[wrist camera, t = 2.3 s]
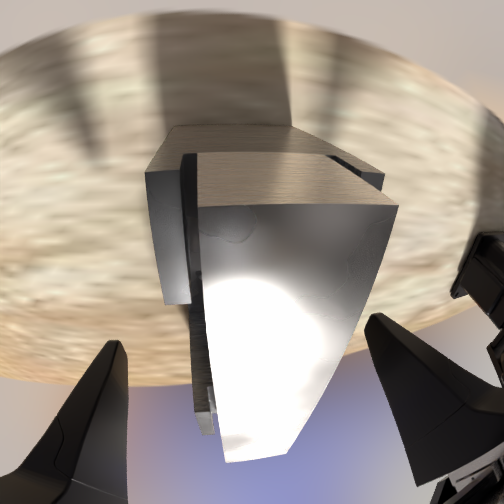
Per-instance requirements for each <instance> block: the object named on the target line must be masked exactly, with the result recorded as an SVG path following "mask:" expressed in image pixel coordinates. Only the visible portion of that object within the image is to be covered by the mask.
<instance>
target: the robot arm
mask: <svg viewBox="0 0 504 504" xmlns="http://www.w3.org/2000/svg"><path fill="white" fill-rule="evenodd" d="M468 294H469V296H470V297H471V298H472V299H473V300H474V301H475V302H476V304H477V305H478V306H479V307H480V308H481V309H482V311H483V312H484V313H485V314H486V315H487V316H488V317H489V318H490V319H491V321H492V322H493V323H494V324H495V326H496V327H497V328H498V329H499V330H500V332H499V334H498V335H497V336H496V338H495V339H494V340H493V342H491V343H490V344H489V345H488V346H487V351H488V353H489V355H490V358H491V361H492V363H493V365H494V367H495V370H496V372H497V375H498V378H499V380H500V383H501V385H502V388H499V387H495V386H493V385H491V384H489V383H487V382H485V381H483V380H482V379H480V378H478V377H477V376H475V375H473V374H472V373H470V372H468V371H467V370H465V369H463V368H462V367H460V366H458V365H457V364H456V363H454V362H453V361H452V360H450V359H448V358H447V357H446V356H444V355H443V354H441V353H440V352H438V351H437V350H436V349H434V348H433V347H431V346H430V345H428V344H427V343H425V342H424V341H422V340H421V339H420V338H418V337H417V336H415V335H414V334H412V333H411V332H409V331H408V330H406V329H405V328H404V327H402V326H401V325H399V324H398V323H396V322H395V321H393V320H392V319H390V318H389V317H387V316H386V315H384V314H383V313H374V314H371V315H370V317H369V319H368V322H367V324H366V326H365V329H364V334H365V337H366V340H367V344H368V347H369V350H370V353H371V357H372V360H373V363H374V367H375V369H376V372H377V374H378V377H379V379H380V382H381V384H382V387H383V389H384V392H385V395H386V397H387V400H388V402H389V405H390V408H391V410H392V413H393V416H394V419H395V421H396V424H397V427H398V430H399V432H400V436H401V438H402V442H403V444H404V448H405V451H406V454H407V457H408V460H409V463H410V466H411V470H412V473H413V476H414V480H415V483H416V486H417V487H419V486H421V485H424V484H426V483H429V482H431V481H434V480H436V479H438V478H440V477H443V476H445V475H447V474H448V476H446V477H445V478H444V479H442V480H441V481H439V482H438V483H437V486H436V489H435V492H434V494H433V497H432V499H431V502H430V504H504V232H485V233H480V234H479V235H478V236H477V238H476V241H475V243H474V246H473V248H472V250H471V253H470V255H469V257H468V259H467V262H466V264H465V266H464V268H463V270H462V272H461V274H460V276H459V278H458V280H457V282H456V284H455V286H454V288H453V290H452V292H451V297H452V298H453V299H456V298H459V297H462V296H465V295H468ZM128 399H129V398H128V359H127V354H126V352H125V350H124V348H123V346H122V343H121V342H120V341H119V340H109V341H107V343H106V344H105V345H104V347H103V348H102V349H101V351H100V352H99V353H98V355H97V356H96V358H95V359H94V360H93V362H92V363H91V365H90V366H89V367H88V369H87V370H86V372H85V373H84V375H83V376H82V377H81V379H80V380H79V382H78V383H77V385H76V386H75V388H74V389H73V391H72V392H71V394H70V395H69V397H68V398H67V400H66V401H65V403H64V404H63V406H62V407H61V409H60V410H59V412H58V413H57V416H56V417H55V418H54V420H53V421H52V423H51V424H50V426H49V427H48V429H47V430H46V432H45V433H44V435H43V436H42V438H41V439H40V440H39V442H38V443H37V444H36V446H35V447H34V448H33V449H32V451H31V452H30V453H29V455H28V456H27V457H26V459H25V460H24V461H23V462H22V464H21V465H20V466H19V467H18V468H17V469H16V470H15V471H13V472H11V473H9V474H7V475H4V476H2V477H0V504H128V496H127V473H126V472H127V468H126V467H127V464H126V451H127V450H126V449H127V448H126V447H127V418H128Z"/></svg>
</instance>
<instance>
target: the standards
mask: <svg viewBox="0 0 504 504" xmlns="http://www.w3.org/2000/svg"><path fill="white" fill-rule="evenodd" d="M204 152H287V153H307V154H322V155H325V156H327V157H329V158H330V159H332V160H333V161H335V162H337V163H338V164H340V165H341V166H343V167H345V168H346V169H348V170H349V171H351V172H352V173H354V174H355V175H357V176H358V177H360V178H361V179H363V180H364V181H366V182H367V183H369V184H370V185H372V186H373V187H374V188H376V189H377V190H379V191H380V192H381V190H382V185H383V181H384V176H385V173H383V172H381V171H380V170H378V169H376V168H374V167H373V166H371V165H369V164H367V163H366V162H364V161H362V160H360V159H358V158H357V157H355V156H353V155H351V154H349V153H347V152H345V151H343V150H341V149H339V148H337V147H335V146H334V145H332V144H329V143H327V142H325V141H323V140H321V139H319V138H317V137H315V136H313V135H311V134H309V133H306V132H304V131H302V130H300V129H297V128H295V127H293V126H280V125H256V124H207V125H184V126H174V127H173V129H172V130H171V132H170V133H169V135H168V136H167V138H166V139H165V141H164V142H163V144H162V145H161V147H160V148H159V150H158V151H157V153H156V154H155V156H154V158H153V159H152V161H151V162H150V164H149V166H148V167H147V169H146V171H145V182H146V191H147V200H148V208H149V216H150V223H151V230H152V237H153V243H154V250H155V256H156V261H157V267H158V272H159V278H160V283H161V288H162V293H163V298H164V302H165V305H175V304H188V310H189V330H190V354H191V372H192V387H193V400H194V411H195V415H196V418H197V421H198V424H199V427H200V430H201V433H202V435H211V434H212V435H213V434H215V432H214V425H213V417H212V413H217V407H216V400H215V393H214V386H213V378H212V370H211V362H210V354H209V345H208V336H207V327H206V317H205V307H204V295H203V284H202V271H201V257H200V241H199V223H198V189H197V153H204Z"/></svg>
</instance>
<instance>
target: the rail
mask: <svg viewBox="0 0 504 504" xmlns="http://www.w3.org/2000/svg"><path fill="white" fill-rule="evenodd" d="M197 189H198V223H199V241H200V257H201V271H202V284H203V295H204V307H205V317H206V327H207V336H208V345H209V354H210V362H211V370H212V378H213V386H214V393H215V400H216V407H217V413H218V420H219V425H220V432H221V438H222V444H223V449H224V455H225V461H226V463H228V462H237V461H245V460H253V459H259V458H265V457H271V456H276V455H281V454H285V453H287V451H288V450H289V448H290V447H291V445H292V444H293V442H294V441H295V439H296V438H297V436H298V434H299V433H300V431H301V430H302V428H303V426H304V425H305V423H306V422H307V420H308V418H309V416H310V415H311V413H312V411H313V410H314V408H315V406H316V405H317V403H318V401H319V399H320V398H321V396H322V394H323V392H324V390H325V389H326V387H327V385H328V383H329V381H330V379H331V377H332V375H333V374H334V372H335V370H336V368H337V365H338V364H339V362H340V360H341V358H342V356H343V354H344V351H345V349H346V347H347V345H348V343H349V341H350V339H351V337H352V334H353V332H354V330H355V328H356V325H357V323H358V321H359V318H360V316H361V314H362V311H363V309H364V307H365V304H366V302H367V299H368V297H369V294H370V292H371V289H372V286H373V284H374V281H375V278H376V276H377V273H378V270H379V267H380V265H381V262H382V259H383V256H384V253H385V250H386V247H387V244H388V241H389V237H390V234H391V231H392V228H393V224H394V221H395V217H396V214H397V210H398V207H399V205H398V204H397V203H395V202H394V201H393V200H391V199H390V198H388V197H387V196H386V195H384V194H383V193H382V192H380V191H379V190H377V189H376V188H374V187H373V186H372V185H370V184H369V183H367V182H366V181H364V180H363V179H361V178H360V177H358V176H357V175H355V174H354V173H352V172H351V171H349V170H348V169H346V168H345V167H343V166H341V165H340V164H338V163H337V162H335V161H333V160H332V159H330V158H329V157H327V156H325V155H322V154H307V153H287V152H204V153H197Z"/></svg>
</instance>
